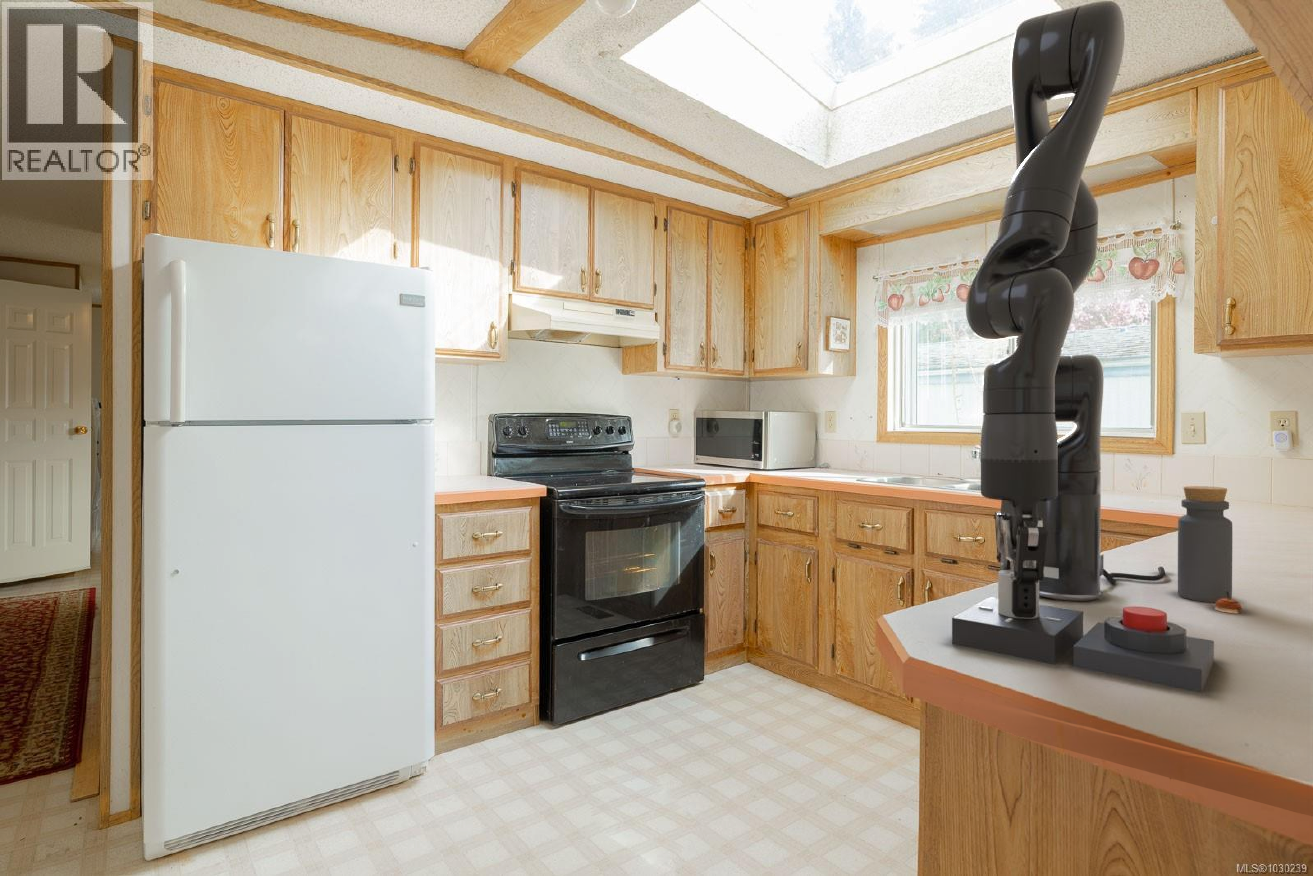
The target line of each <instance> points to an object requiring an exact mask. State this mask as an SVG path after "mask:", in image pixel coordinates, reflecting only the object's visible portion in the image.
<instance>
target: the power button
mask: <svg viewBox="0 0 1313 876" xmlns="http://www.w3.org/2000/svg"><path fill="white" fill-rule="evenodd" d="M1122 616H1123V626H1126V627H1130V628H1133V629H1139V630H1145V631H1167V622H1168V613H1167V612H1166V611H1164V610H1161V609H1157V608H1153V607H1148V606H1136V605H1135V606H1134V605H1133V606H1130V605H1129V606H1124V607H1123V608H1122Z"/></svg>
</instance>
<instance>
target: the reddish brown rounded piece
mask: <svg viewBox="0 0 1313 876" xmlns="http://www.w3.org/2000/svg"><path fill="white" fill-rule="evenodd" d="M1226 593H1227V598H1222V599H1220V600H1218V601H1216V602H1214V610H1216V611H1218V612H1222V613H1230V614H1241V611H1242V610H1243V607H1242V605H1241V604H1240V602H1239V601H1238V600H1236V599H1230V596H1229V593H1228V589H1226Z"/></svg>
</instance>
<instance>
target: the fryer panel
mask: <svg viewBox="0 0 1313 876" xmlns="http://www.w3.org/2000/svg"><path fill="white" fill-rule="evenodd" d="M1083 636H1084V611H1082V610H1076V609H1070V608H1063V607H1057V606H1050V605H1044V604H1039V617H1038V618H1033V619H1020V618H1012V617H1008V616H1004V615H1002V614H1000V613H999V612H998V597H992V596H988V597H986V598H984V599H983V600H980V601H979V602H977V603H976V604H974V605H972V606H970V607H969V608H967V609H965V610H963V611H961V612H960V613H958V614H956V615H954V616H952V617H951V644H952V645H955V646H960V647H965V648H970V649H975V650H980V651H984V652H989V653H995V654H1000V655H1004V656H1009V657H1014V658H1019V659H1024V660H1029V661H1035V662H1039V663H1045V664H1049V665H1054V666H1055V665H1056V664H1057V663H1058V662H1060V661H1061V660H1062V658H1063V657H1065V656H1066V655H1067V654H1068V653H1069V652H1070V651H1071V650H1072V649H1073V646H1074V645H1075V644H1076V643H1077V642H1078V641H1079V640H1080V639H1081V638H1082V637H1083Z"/></svg>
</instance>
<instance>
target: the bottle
mask: <svg viewBox="0 0 1313 876" xmlns="http://www.w3.org/2000/svg"><path fill="white" fill-rule="evenodd" d="M1183 492H1184V496H1185V499H1181V507H1182V508H1185V509H1186V514H1184V515H1182V516H1180V517H1179V518H1178V519H1177V595H1178V596H1179V597H1182V598H1184V599H1188V600H1193V601H1197V602H1198V601H1199V602H1205V603H1216V601H1218V600H1220V599H1222V598H1227V593H1226V589H1228V593H1229V596H1230V599H1232V598H1233V522H1232V520H1231V519H1229V518H1228V517H1226V516H1225V515H1224V511H1227V510H1229V509H1230V502H1229V501H1226V500H1225V499H1226V496H1227V492H1228V488H1226V487H1222V486H1221V487H1220V486H1207V485H1205V486H1204V485H1191V486H1190V485H1188V486H1183Z"/></svg>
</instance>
